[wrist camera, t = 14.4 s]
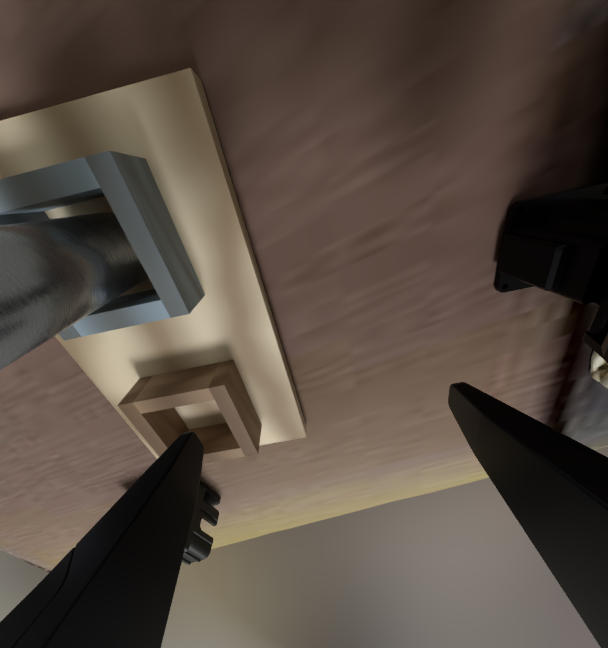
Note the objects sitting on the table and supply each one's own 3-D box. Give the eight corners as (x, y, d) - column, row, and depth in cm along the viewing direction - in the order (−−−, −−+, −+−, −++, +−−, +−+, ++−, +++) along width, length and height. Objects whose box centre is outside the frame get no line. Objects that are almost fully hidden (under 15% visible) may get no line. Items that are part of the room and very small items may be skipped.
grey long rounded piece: (155, 223, 15) (-94, 288, 5) (156, 289, 17) (-21, 423, 7) (74, 202, 14) (-383, 234, 5) (86, 274, 16) (-213, 400, 7)
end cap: (193, 469, 30) (168, 539, 24) (225, 497, 33) (210, 564, 27) (127, 491, 31) (88, 561, 25) (164, 515, 34) (137, 583, 28)
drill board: (200, 80, 13) (160, 31, 9) (305, 424, 26) (308, 465, 22) (-64, 152, 14) (-204, 137, 10) (166, 449, 27) (145, 493, 23)
